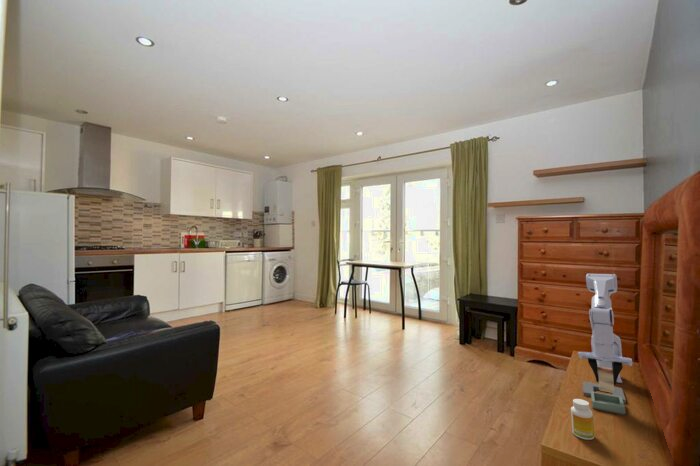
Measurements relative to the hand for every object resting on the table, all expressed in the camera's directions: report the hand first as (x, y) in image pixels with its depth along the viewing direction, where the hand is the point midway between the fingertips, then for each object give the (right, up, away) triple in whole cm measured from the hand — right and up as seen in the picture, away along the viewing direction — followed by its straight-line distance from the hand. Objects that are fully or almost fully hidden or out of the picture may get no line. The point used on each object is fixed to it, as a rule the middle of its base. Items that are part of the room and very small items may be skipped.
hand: (605, 382), depth 110 cm
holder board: (+6, -8, +8) cm, 13 cm away
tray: (0, -8, 0) cm, 8 cm away
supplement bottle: (-19, -9, -16) cm, 26 cm away
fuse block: (0, -2, 0) cm, 3 cm away
